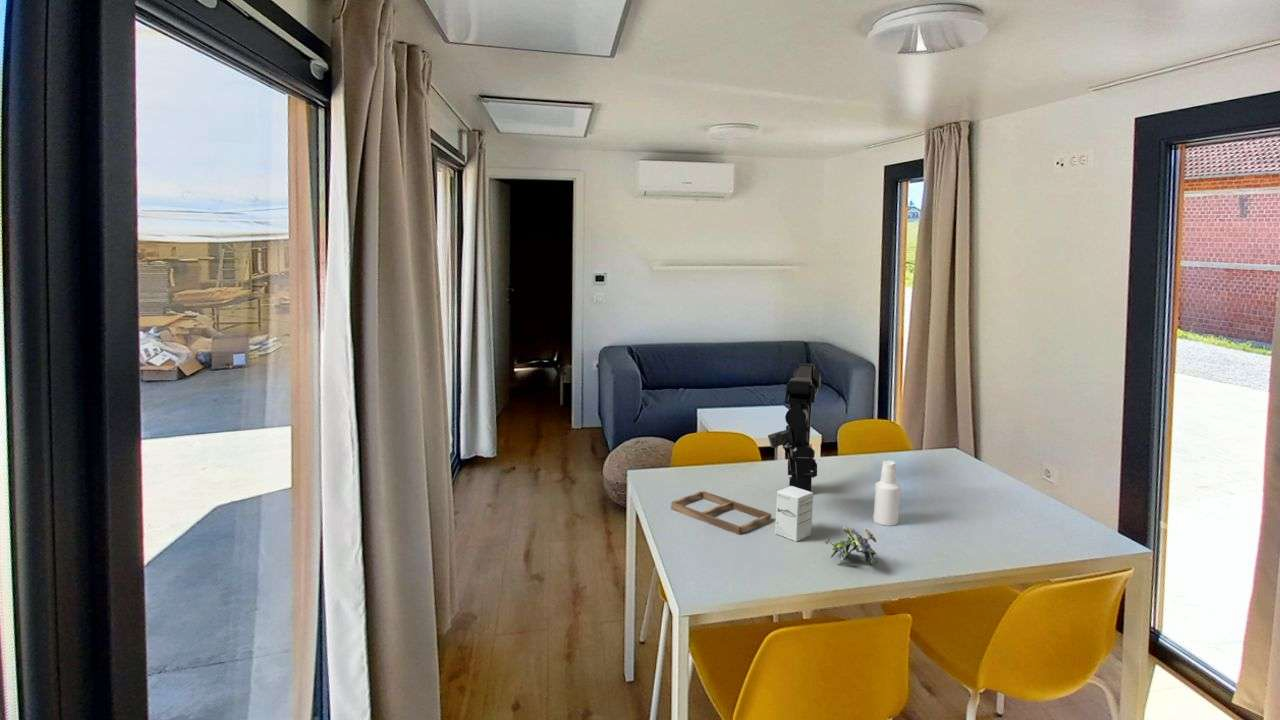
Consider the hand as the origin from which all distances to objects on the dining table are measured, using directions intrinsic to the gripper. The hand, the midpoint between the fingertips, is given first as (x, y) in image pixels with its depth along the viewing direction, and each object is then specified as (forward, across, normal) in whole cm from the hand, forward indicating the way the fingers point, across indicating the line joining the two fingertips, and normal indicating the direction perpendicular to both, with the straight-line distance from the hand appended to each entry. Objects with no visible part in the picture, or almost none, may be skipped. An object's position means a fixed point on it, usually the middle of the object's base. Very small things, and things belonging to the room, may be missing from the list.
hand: (795, 475), depth 201 cm
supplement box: (+14, +12, -2) cm, 19 cm away
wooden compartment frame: (+13, -2, -22) cm, 25 cm away
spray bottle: (+12, +2, +26) cm, 29 cm away
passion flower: (+15, +29, +9) cm, 34 cm away
